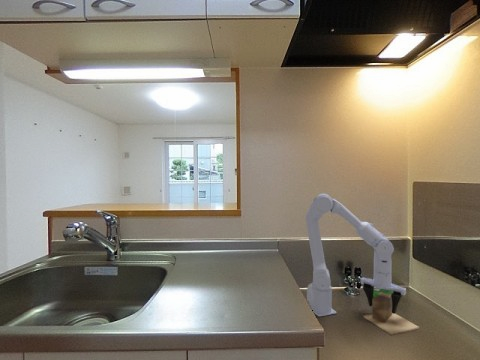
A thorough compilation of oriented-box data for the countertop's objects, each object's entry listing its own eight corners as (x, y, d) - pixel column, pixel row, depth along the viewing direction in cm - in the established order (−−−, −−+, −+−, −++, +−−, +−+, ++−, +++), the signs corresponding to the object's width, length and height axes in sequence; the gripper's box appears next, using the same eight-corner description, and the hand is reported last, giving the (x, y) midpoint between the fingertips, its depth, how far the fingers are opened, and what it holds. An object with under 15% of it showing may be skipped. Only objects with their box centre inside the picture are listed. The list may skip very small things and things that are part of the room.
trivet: (363, 317, 99) (363, 315, 99) (389, 311, 103) (389, 310, 103) (391, 335, 88) (391, 333, 88) (419, 328, 92) (419, 327, 92)
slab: (372, 318, 97) (372, 298, 97) (380, 310, 103) (380, 292, 103) (384, 322, 95) (384, 302, 94) (392, 314, 100) (392, 295, 100)
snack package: (367, 304, 109) (367, 291, 109) (380, 292, 121) (380, 280, 120) (386, 310, 104) (386, 297, 104) (398, 297, 116) (399, 285, 115)
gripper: (357, 269, 101) (357, 305, 101) (401, 279, 91) (401, 320, 91) (364, 264, 106) (364, 299, 106) (407, 273, 96) (407, 312, 96)
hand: (382, 308), depth 99 cm, fingers open, 7 cm apart
